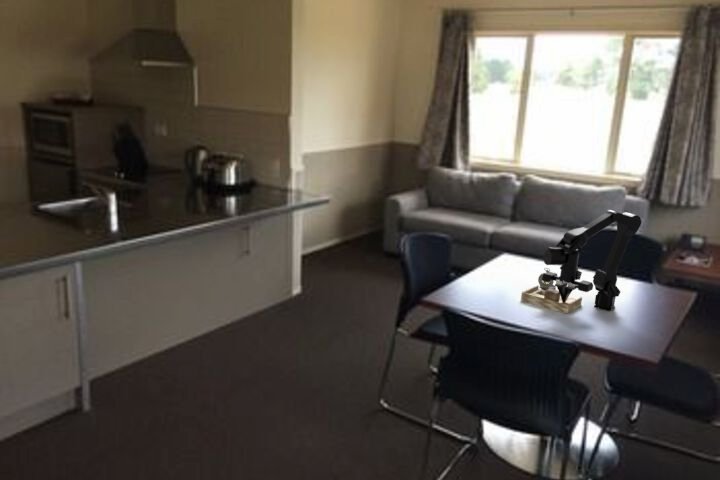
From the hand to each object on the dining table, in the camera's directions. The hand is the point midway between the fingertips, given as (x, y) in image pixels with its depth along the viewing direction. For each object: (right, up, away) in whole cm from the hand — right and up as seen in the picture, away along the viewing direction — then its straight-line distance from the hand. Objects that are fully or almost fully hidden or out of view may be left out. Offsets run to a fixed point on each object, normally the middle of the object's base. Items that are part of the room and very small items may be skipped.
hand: (564, 302), depth 240 cm
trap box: (-3, -1, +7) cm, 8 cm away
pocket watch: (+1, +3, +26) cm, 26 cm away
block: (-4, 0, +3) cm, 5 cm away
